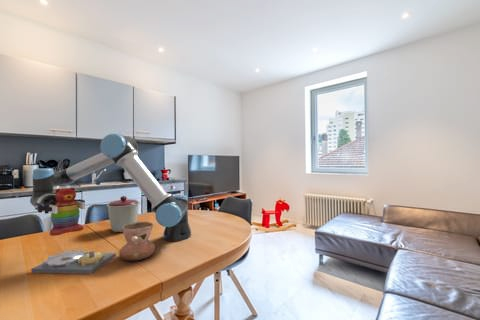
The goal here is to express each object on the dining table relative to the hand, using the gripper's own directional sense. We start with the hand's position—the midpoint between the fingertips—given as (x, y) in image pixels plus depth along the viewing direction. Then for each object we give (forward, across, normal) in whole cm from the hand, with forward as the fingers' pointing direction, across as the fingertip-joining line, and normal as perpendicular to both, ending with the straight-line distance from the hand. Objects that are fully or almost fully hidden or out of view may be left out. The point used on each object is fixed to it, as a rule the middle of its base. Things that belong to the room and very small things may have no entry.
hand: (70, 207), depth 88 cm
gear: (-5, 0, -22) cm, 23 cm away
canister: (-29, -38, -24) cm, 54 cm away
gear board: (-1, -2, -24) cm, 24 cm away
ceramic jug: (+14, -20, -24) cm, 35 cm away
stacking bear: (-5, 0, -10) cm, 11 cm away
